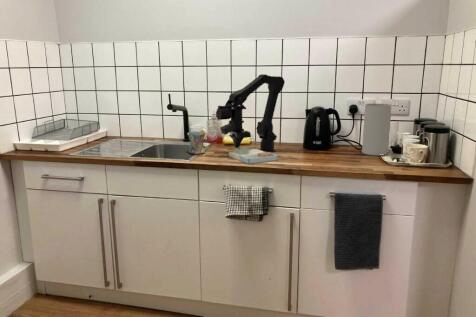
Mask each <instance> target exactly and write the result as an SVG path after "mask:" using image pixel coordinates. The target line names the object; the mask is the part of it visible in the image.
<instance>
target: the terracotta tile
mask: <svg viewBox="0 0 476 317" xmlns="http://www.w3.org/2000/svg"><path fill="white" fill-rule="evenodd" d="M270 153H271V152H270ZM270 153H267V152H264V153H258V157H266V156H272V154H273V153H272V154H270Z"/></svg>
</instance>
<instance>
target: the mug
mask: <svg viewBox="0 0 476 317" xmlns="http://www.w3.org/2000/svg"><path fill="white" fill-rule="evenodd" d="M205 135H206V132H205V131H189V132H187V136H188V139H189V144H190V146H189V150H188V153H189V154H192V155H200V154H204V153H205V152H206V150H205V147H204V146H205V145H204V141H205V140H204V138H205Z"/></svg>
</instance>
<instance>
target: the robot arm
mask: <svg viewBox="0 0 476 317" xmlns="http://www.w3.org/2000/svg"><path fill="white" fill-rule="evenodd" d="M264 84H266V85H267V89H268V95H267V101H266V105H265V109H264V113H263V117H262V119H261V121H258V122H257V125H256V128H255V129H256V133H257V136H259V137H258V138H259V139H261V140H260V144H259V145H260V146H259V149H258V150H261V151H264V152H270V153H272V152H275V151H276V149H275V141H276V140H277V137H278V136H277V135H276V133H275V132H274V125H273V117H274V114H275V109H276V105H277V101H278V97H279V94H280V93H281V92H282V90H283V88H284V85H285V79H284V77H282V76H280V75H279V76H275V75H273V76H272V75H268V74H266V73H265V74H262V73H261V74H259V75H258V76H257V77H256V78H255V79H253V80H252V81H251V82H249V83H248V84H247V85H246V86H244V87H243V88H241V89H238V90H236V91H234V92H231V93H230V94H229V97H228V100H227V101H226V102H225V104H224V105H217V109H216V111H215V117H216V119H217V120H218V121H222V120H229V121H228V123H227V124H224V125H222V126H220V127H219V129H220V132H221V134H222V135H224V136H225V135H228V134H229V135H228V137H230V138H231V139H232V142H233V145H234V149H235V148H238V147H241V143H242V142H243V140H244V139H248V138H251V137H252V135H251V132H250V131H248V130H245V128H243V123H245V121H244V120H243V110H246V109H247V107H246V106H245V105H244V103H245V102H246V101H247V99H248V97H250V95H252V93H254V92H256V90H258V89H259V88H260V87H261V86H263V85H264Z"/></svg>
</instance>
